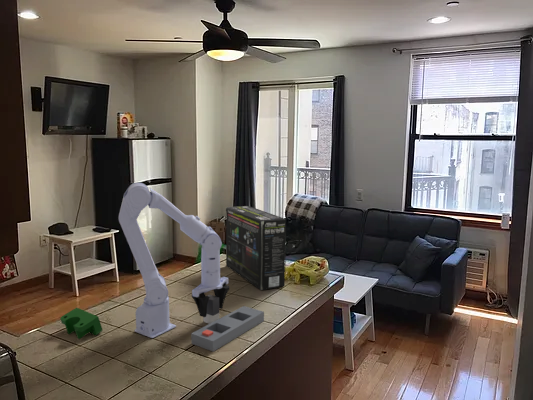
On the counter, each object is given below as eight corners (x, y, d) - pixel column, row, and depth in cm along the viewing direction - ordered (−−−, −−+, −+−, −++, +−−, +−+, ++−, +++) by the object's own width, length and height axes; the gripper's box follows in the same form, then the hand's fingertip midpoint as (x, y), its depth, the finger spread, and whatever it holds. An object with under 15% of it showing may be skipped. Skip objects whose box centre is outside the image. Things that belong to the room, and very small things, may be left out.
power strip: (213, 351, 119) (212, 339, 118) (191, 343, 123) (191, 331, 122) (264, 320, 138) (264, 309, 138) (243, 314, 143) (243, 304, 142)
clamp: (71, 345, 131) (56, 319, 130) (88, 333, 135) (74, 308, 134) (88, 343, 123) (72, 314, 122) (106, 330, 127) (90, 303, 126)
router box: (286, 287, 169) (287, 218, 165) (261, 291, 164) (261, 221, 159) (247, 262, 200) (247, 204, 196) (224, 265, 195) (224, 206, 191)
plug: (213, 325, 135) (212, 300, 134) (203, 321, 137) (202, 297, 136) (219, 321, 137) (219, 297, 136) (209, 318, 140) (209, 294, 138)
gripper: (204, 278, 127) (205, 323, 129) (235, 266, 138) (236, 307, 140) (186, 274, 130) (187, 317, 133) (218, 262, 142) (219, 302, 144)
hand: (211, 311), depth 137 cm, fingers open, 7 cm apart
